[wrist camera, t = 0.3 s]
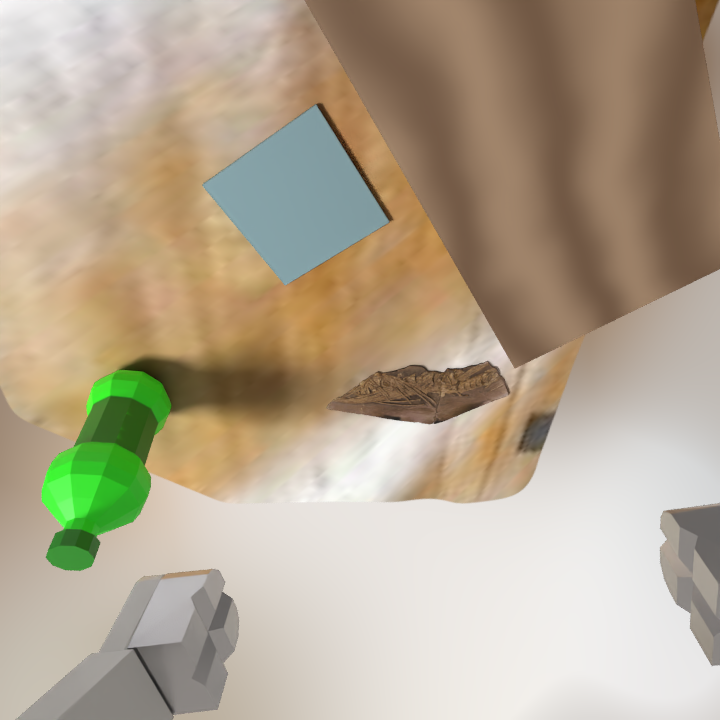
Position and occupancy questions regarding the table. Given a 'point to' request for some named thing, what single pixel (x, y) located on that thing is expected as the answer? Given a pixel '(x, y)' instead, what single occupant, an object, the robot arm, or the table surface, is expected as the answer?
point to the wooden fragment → (423, 393)
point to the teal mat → (297, 197)
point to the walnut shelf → (546, 148)
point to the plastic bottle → (104, 466)
